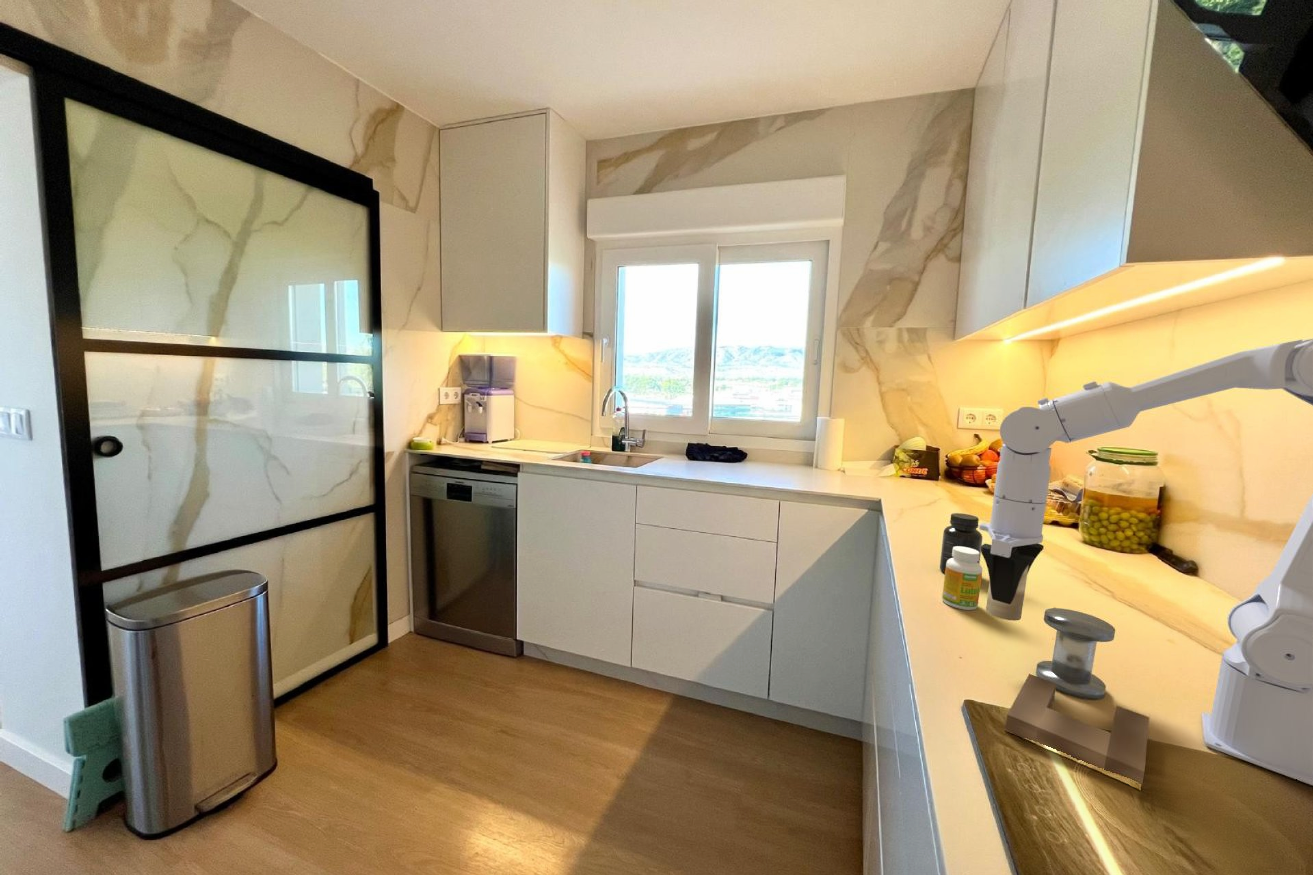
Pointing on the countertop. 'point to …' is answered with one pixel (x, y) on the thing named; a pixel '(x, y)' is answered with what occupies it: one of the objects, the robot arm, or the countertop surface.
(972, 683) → the countertop surface
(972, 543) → the supplement bottle
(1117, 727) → the notched board
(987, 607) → the beige banded cylinder
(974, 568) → the supplement bottle
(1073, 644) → the bobbin post
